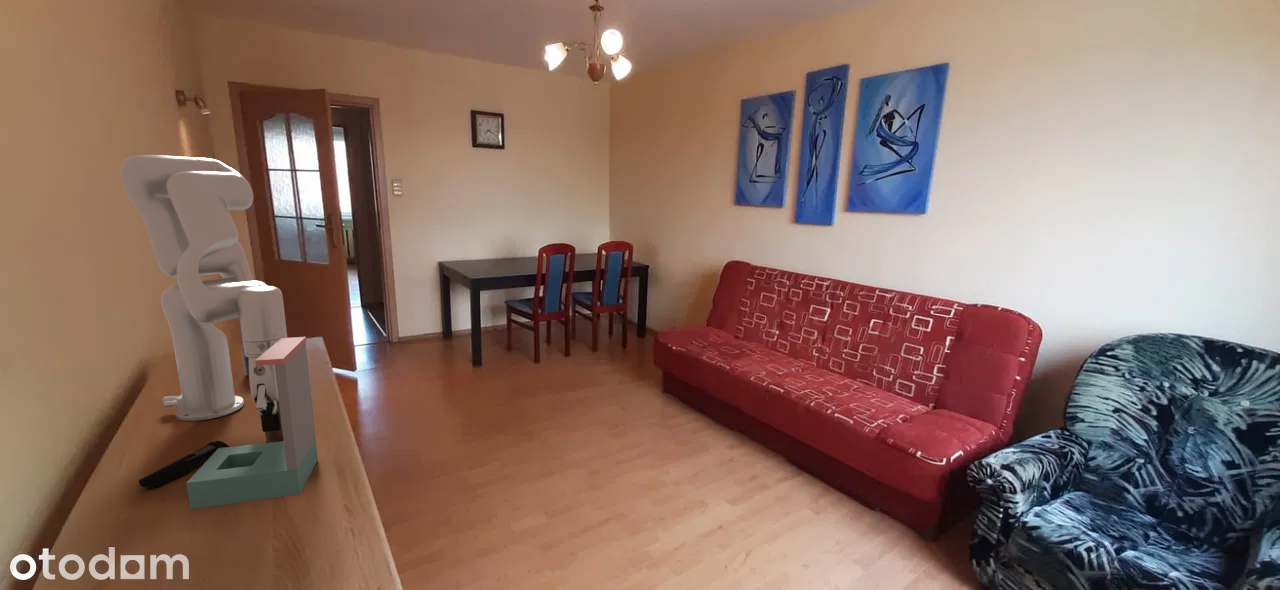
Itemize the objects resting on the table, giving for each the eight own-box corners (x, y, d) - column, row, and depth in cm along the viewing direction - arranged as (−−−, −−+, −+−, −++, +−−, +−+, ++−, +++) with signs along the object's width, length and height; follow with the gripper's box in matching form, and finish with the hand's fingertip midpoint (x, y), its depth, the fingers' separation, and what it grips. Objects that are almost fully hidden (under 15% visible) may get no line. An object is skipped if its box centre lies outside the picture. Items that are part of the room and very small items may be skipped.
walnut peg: (263, 444, 107) (257, 400, 104) (270, 435, 110) (264, 393, 108) (285, 442, 108) (280, 398, 106) (291, 433, 112) (286, 391, 109)
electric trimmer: (133, 493, 90) (130, 478, 89) (217, 449, 104) (215, 435, 104) (151, 496, 89) (148, 480, 88) (233, 451, 104) (231, 437, 103)
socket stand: (189, 511, 85) (164, 365, 79) (223, 470, 97) (204, 342, 91) (299, 495, 90) (283, 358, 84) (318, 459, 102) (305, 336, 96)
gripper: (273, 356, 98) (283, 441, 102) (299, 333, 114) (307, 408, 117) (226, 359, 96) (239, 446, 99) (259, 335, 111) (269, 411, 115)
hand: (275, 424), depth 108 cm, fingers closed on walnut peg, 4 cm apart
